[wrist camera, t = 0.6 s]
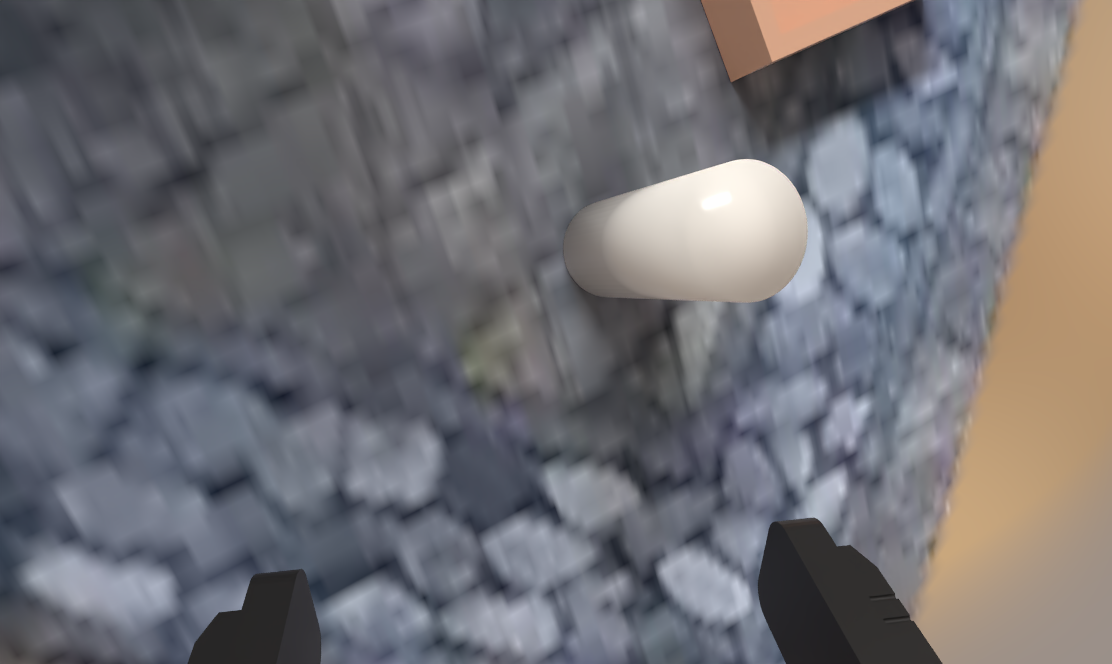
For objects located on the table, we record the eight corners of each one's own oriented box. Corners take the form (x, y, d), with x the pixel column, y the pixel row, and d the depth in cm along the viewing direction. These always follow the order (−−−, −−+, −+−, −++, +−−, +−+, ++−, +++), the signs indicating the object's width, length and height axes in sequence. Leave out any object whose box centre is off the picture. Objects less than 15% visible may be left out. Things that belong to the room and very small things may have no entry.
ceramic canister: (547, 224, 34) (663, 192, 22) (629, 185, 35) (778, 137, 24) (586, 313, 35) (717, 326, 23) (665, 272, 36) (825, 266, 25)
